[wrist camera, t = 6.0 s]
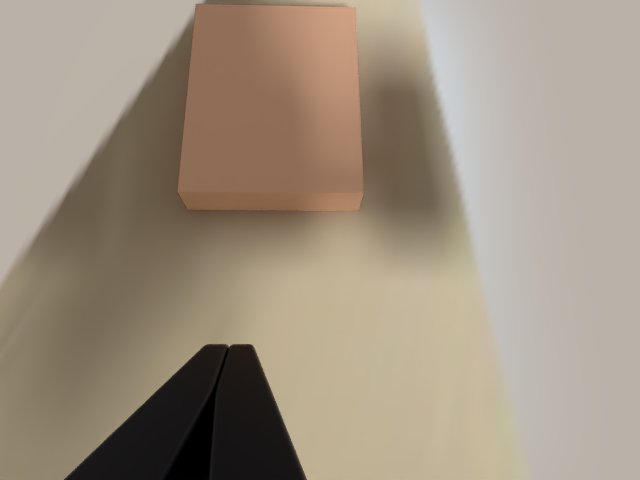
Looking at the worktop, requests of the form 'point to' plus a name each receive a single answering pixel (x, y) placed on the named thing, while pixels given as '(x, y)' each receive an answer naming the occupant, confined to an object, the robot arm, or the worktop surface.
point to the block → (272, 110)
